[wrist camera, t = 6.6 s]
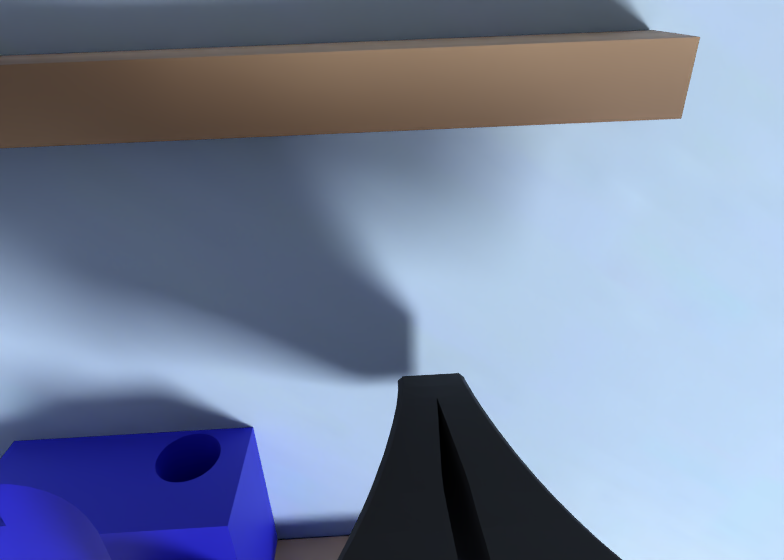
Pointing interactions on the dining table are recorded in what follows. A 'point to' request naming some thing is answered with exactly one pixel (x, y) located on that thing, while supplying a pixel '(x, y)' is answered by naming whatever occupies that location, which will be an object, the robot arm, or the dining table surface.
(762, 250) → the dining table surface
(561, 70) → the guide lane
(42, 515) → the cable clip
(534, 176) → the dining table surface
